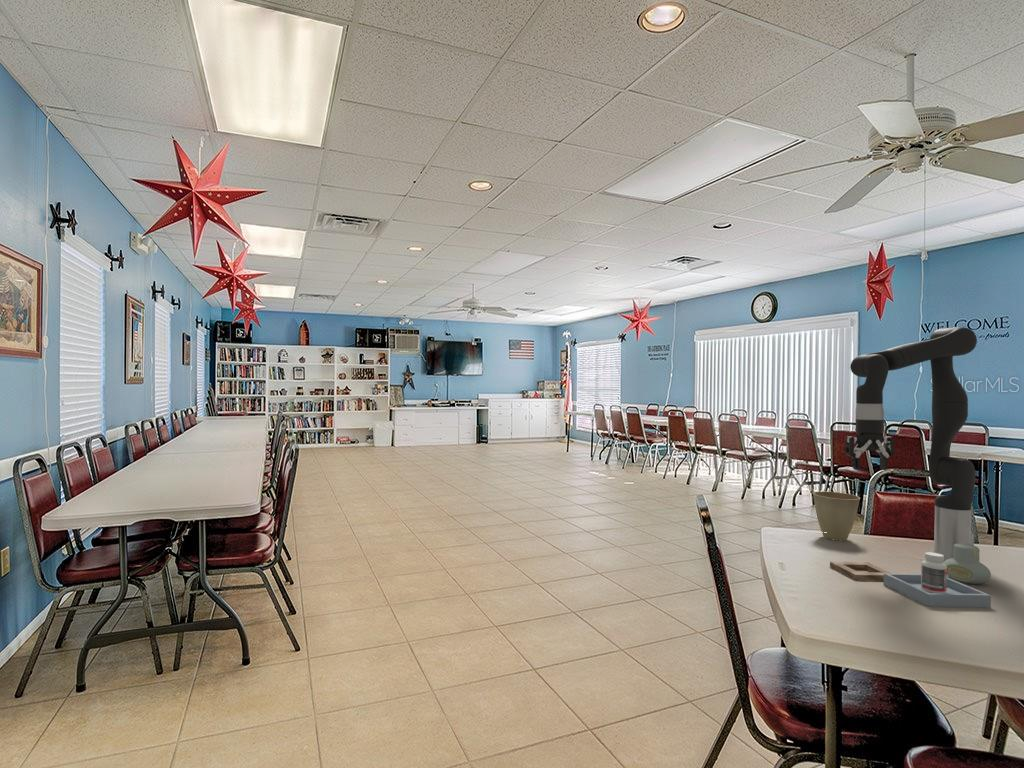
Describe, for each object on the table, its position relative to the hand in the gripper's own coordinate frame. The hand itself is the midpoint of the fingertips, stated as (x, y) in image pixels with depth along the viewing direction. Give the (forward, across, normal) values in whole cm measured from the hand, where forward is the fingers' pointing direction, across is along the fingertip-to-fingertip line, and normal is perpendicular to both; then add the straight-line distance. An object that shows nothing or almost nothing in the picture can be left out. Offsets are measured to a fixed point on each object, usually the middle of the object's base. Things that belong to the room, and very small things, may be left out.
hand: (869, 469), depth 175 cm
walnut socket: (+29, -10, -11) cm, 32 cm away
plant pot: (+30, +7, +30) cm, 43 cm away
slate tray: (+29, -1, -27) cm, 40 cm away
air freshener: (+30, +17, -15) cm, 38 cm away
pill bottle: (+28, -2, -27) cm, 39 cm away
